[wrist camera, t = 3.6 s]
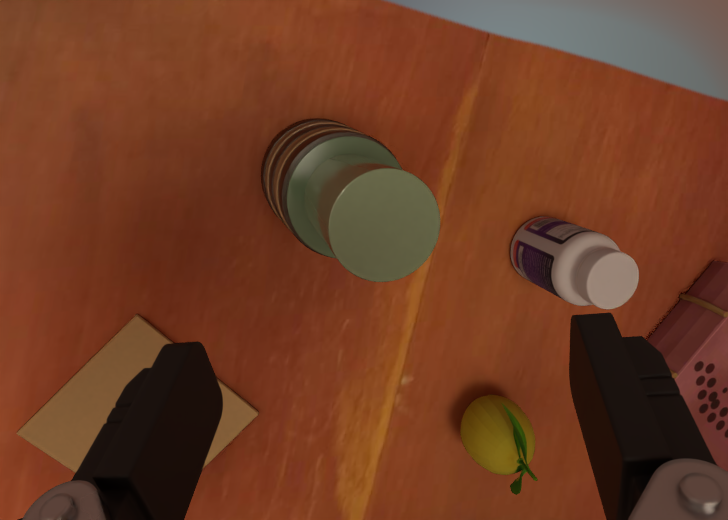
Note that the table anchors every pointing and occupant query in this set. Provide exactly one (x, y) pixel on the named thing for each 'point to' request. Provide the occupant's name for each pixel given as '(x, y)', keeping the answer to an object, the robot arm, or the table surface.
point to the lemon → (499, 437)
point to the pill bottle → (574, 263)
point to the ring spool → (362, 208)
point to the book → (701, 355)
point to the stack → (295, 159)
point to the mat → (114, 398)
